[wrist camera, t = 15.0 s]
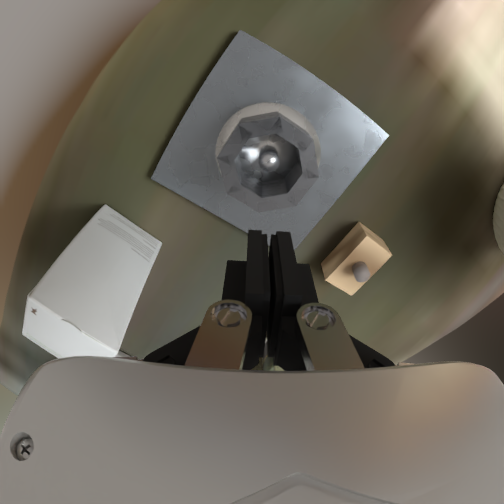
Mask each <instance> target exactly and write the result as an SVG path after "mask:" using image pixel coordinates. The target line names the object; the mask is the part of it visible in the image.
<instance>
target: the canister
mask: <svg viewBox="0 0 504 504" xmlns="http://www.w3.org/2000/svg"><path fill="white" fill-rule="evenodd" d="M493 230H494V234H495V239H496V241H497V243H498V246H499V248H500V250H501V251H502V253H503V255H504V183H503V185H502V187H501V189H500V191H499V193H498V197H497V199H496V203H495V207H494V213H493Z"/></svg>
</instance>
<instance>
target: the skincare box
mask: <svg viewBox="0 0 504 504" xmlns="http://www.w3.org/2000/svg"><path fill="white" fill-rule="evenodd" d="M161 245H162V242H160V241H159V240H157V239H156V238H154V237H153V236H151V235H150V234H148V233H147V232H145V231H144V230H142V229H141V228H139V227H138V226H136V225H135V224H134V223H132V222H131V221H129V220H128V219H126V218H125V217H123V216H122V215H120V214H119V213H118V212H116V211H115V210H113V209H112V208H110V207H109V206H107V205H106V204H105V205H103V206H102V207H101V208H100V209H99V211H98V212H97V213H96V214H95V215H94V216H93V217H92V218H91V219H90V221H89V222H88V223H87V224H86V225H85V226H84V227H83V228H82V230H81V231H80V232H79V233H78V234H77V235H76V236H75V238H74V239H73V240H72V241H71V242H70V244H69V245H68V246H67V247H66V248H65V250H64V251H63V252H62V253H61V254H60V256H59V257H58V258H57V259H56V261H55V262H54V263H53V264H52V266H51V267H50V268H49V270H48V271H47V272H46V274H45V275H44V276H43V278H42V279H41V280H40V281H39V283H38V284H37V285H36V286H35V288H34V289H33V290H32V291H31V292H30V293H29V294H28V297H27V303H26V309H25V316H24V324H23V331H22V334H23V335H24V336H26V337H27V338H28V339H30V340H31V341H33V342H34V343H36V344H37V345H39V346H40V347H42V348H43V349H45V350H46V351H48V352H49V353H51V354H53V355H54V356H56V357H57V358H65V357H72V356H103V357H115V356H116V355H117V353H118V351H119V349H120V346H121V343H122V340H123V337H124V335H125V332H126V329H127V327H128V324H129V322H130V319H131V316H132V314H133V311H134V309H135V306H136V304H137V301H138V299H139V297H140V294H141V292H142V289H143V287H144V284H145V282H146V280H147V277H148V275H149V273H150V270H151V268H152V266H153V264H154V261H155V259H156V257H157V254H158V252H159V250H160V248H161Z"/></svg>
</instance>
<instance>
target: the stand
mask: <svg viewBox="0 0 504 504" xmlns="http://www.w3.org/2000/svg"><path fill="white" fill-rule="evenodd" d="M391 256H392V254H391V252H390V250H389V249H388V247H387V246H386V244H385V242H384V241H383V240H382V239H381V238H380V237H379V236H377V235H376V234H375V233H373V232H372V231H371V230H369V229H368V228H367V227H366V226H364V225H363V224H362V223H360V222H358V223H357V224H356V225H355V226H354V227H353V228H352V230H351V231H350V232H349V233H348V234H347V235H346V236H345V237H344V239H343V240H342V241H341V242H340V243H339V244H338V245H337V246H336V247H335V249H334V250H333V251H332V252H331V253H330V254H329V255H328V256H327V257H326V258H325V259H324V261H323V262H322V263H321V266H322V270H323V274H324V277H325V280H326V281H327V282H329V283H331V284H333V285H334V286H336V287H338V288H339V289H341V290H343V291H345V292H346V293H348V294H350V295H351V296H352V295H353V294H354V293H355V292H356V291H357V290H358V289H359V288H360V287H361V286H362V285H363V284H364V283H365V282H366V281H367V280H368V279H369V278H370V277H371V276H372V275H373V274H374V273H375V272H376V271H377V270H378V269H379V268H380V267H381V266H382V265H383V264H384V263H385V262H386V261H387V260H388V259H389V258H390V257H391Z"/></svg>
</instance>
